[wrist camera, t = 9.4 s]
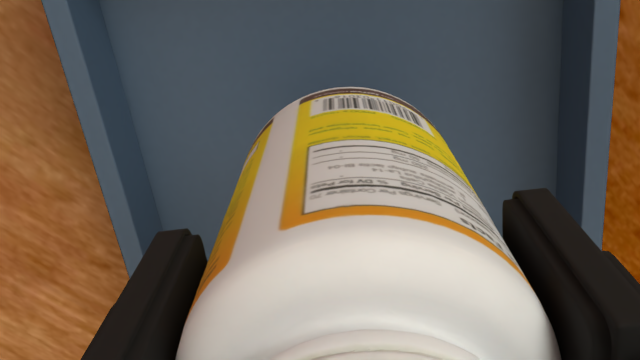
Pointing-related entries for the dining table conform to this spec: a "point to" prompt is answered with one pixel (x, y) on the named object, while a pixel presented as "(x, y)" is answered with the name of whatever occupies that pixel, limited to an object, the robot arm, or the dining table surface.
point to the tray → (332, 72)
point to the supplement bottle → (360, 248)
